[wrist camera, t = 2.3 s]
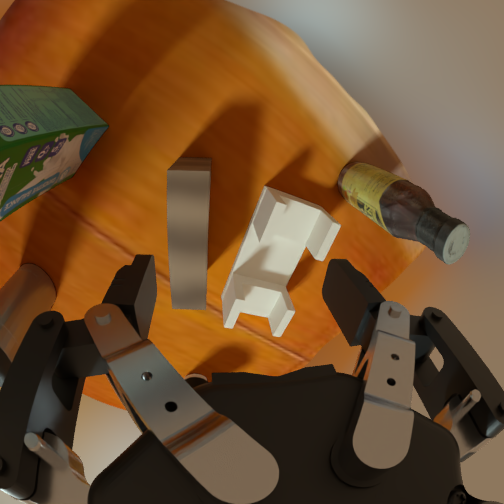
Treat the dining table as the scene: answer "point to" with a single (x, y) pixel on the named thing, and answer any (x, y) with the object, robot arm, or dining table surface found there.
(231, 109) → the dining table surface
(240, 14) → the dining table surface
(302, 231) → the white notched block
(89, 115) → the milk carton
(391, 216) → the sauce bottle
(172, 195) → the grey tapered panel
